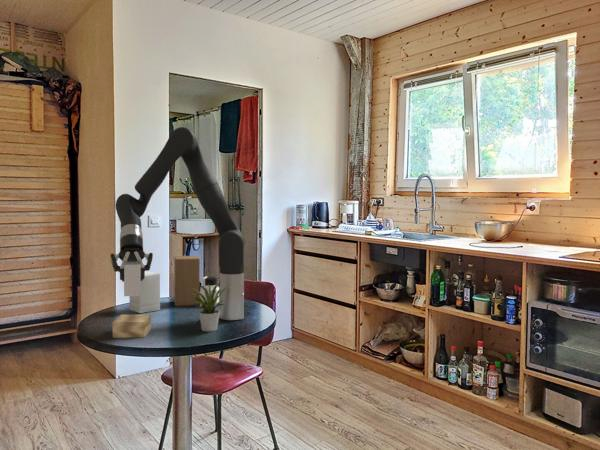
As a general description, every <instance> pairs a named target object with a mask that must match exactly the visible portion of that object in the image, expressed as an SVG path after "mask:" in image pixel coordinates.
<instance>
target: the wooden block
mask: <svg viewBox="0 0 600 450" xmlns="http://www.w3.org/2000/svg"><path fill="white" fill-rule="evenodd" d="M173 259H174V265H173V267H174V268H173V269H174V270H173V271H174V274H173V275H174V277H173V278H174V284H173V285H174V286H173V289H174V293H173V294H174V295H173V296H174V297H173V299H174V300H173V301H174V305H175V307H186V306H187V307H188V306H200V303H196V302H197V301H196V300H197V299H196V298H195V297H194V295H193V294H192V293H194V294H196V295H197V296H198V297H200V295H199V293H198V292H197V291H199V292H200V290H201V284H200V283H201V280H200V279H201V276H200V274H201V270H200V269H201V268H200V267H201V266H200V265H201V261H200V260H201V259H200V257H199V256H198V255H175V256H174V258H173ZM193 288H194V289H193ZM195 289H196V290H197V291H196V290H195ZM194 301H195V302H194Z"/></svg>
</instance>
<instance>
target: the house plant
mask: <svg viewBox="0 0 600 450" xmlns="http://www.w3.org/2000/svg"><path fill="white" fill-rule="evenodd" d="M208 285H209V284H208ZM217 287H218V288H219V283H217V285H215V286H214V288H213V290H212V293H211V290H210V286H209V293H208V291H207V289H206V288H205V287H203V285H200V288H202V289H203V290H204V291H205V295H206V298H207V300H206V298H205V297H204V296H203V295H202V294H201V293H200V292H199V291H197V290H196V289H195V290H196V291H197V292H198V293H199V295H200V296H201V297H202V299H203V300H204V301H202V299H201V298H200V297H198V296H197V295H196V294H194V293H192V294H193V295H194V297H195V298H196V299H197V300H196V301H197V302H196V303H200V304H201V305H202V306H200V304H199V305H197V308H202V310H201V309H200V311H199V310H198V313H199V314H198V315H199V321H200V327H201V331H202V332H214V331H217V329H218V326H219V325H218V324H219V319H220V318H219V314H220V311H219V309H216V308H218V307H219V305H225V304H219V303H220V302H223V300H222V301H220V302H218V303H217V304H216V306H215V303H216V301H217V299H218V297H219V296H220V295H221V294H222V293H223V292H224V290H225V289H227V288H229V287H227V288H225V289H223V290H222V291H221V293H220V290H221V289H222V288H221V289H219V290H218V292H217V294H216V297H215V298H214V295H215V294H214V293H215V292H216V291H215V290H216V288H217ZM218 288H217V289H218ZM193 289H194V288H193ZM219 293H220V294H219ZM218 294H219V295H218ZM213 298H214V300H213ZM194 302H195V301H194ZM225 302H226V301H225Z"/></svg>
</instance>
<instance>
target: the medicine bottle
mask: <svg viewBox="0 0 600 450" xmlns="http://www.w3.org/2000/svg"><path fill="white" fill-rule="evenodd" d="M208 284H209V285H208ZM217 284H218V278H217V277H216V276H211V275H207V276H204V277H202V286H203V287H205V288H206V289H207V291H208V293H209V286H210V290H211V293H212V290H213V288H214V286H215V285H217ZM218 287H219V286H218V285H217V288H218ZM217 288H216V290H215V291H216V292H215V293H214V294H215V295H214V298H215V297H216V294H217V292H218V290H219V288H218V289H217ZM200 293H201V294H202V295H203V296H204V297H205V298H206V295H205V291H204V290H203V289H202V287H200ZM218 295H219V294H218ZM200 298H201V299H202V297H201V296H200ZM214 298H213V300H214ZM206 300H207V298H206ZM202 301H204V300H203V299H202ZM218 302H219V297H218V299H217V301H216V303H215V306H216V304H217V303H218ZM199 306H201V307H202V305H201V304H199ZM215 306H214V307H215Z"/></svg>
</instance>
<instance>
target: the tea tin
mask: <svg viewBox="0 0 600 450" xmlns="http://www.w3.org/2000/svg"><path fill="white" fill-rule="evenodd" d="M140 277H141V261H140V260H127V261H124V282H123V296H124V297H130V296H140V295H141V278H140Z"/></svg>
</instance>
